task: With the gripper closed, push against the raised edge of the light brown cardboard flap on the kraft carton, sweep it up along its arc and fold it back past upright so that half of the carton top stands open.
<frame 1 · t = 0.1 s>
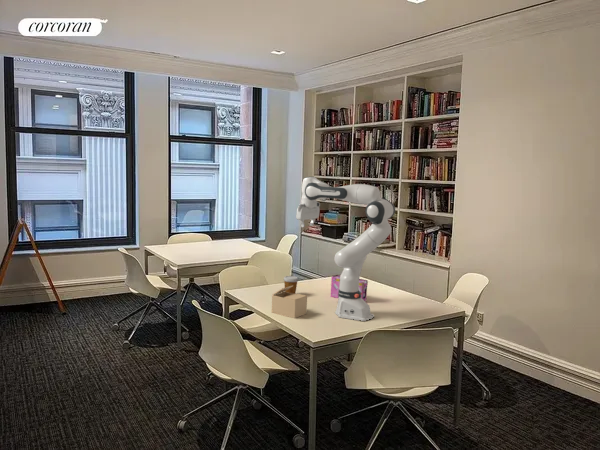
hand: (307, 226, 299), 48 cm above the table, tool pointing down, fingers open, 8 cm apart
carton flap: (282, 290, 285), point 12 cm above the table, hinge at 35.0°
kraft carton: (289, 313, 284), on the table
disposable coffee cup: (290, 295, 322), on the table
gum box: (348, 299, 321), on the table
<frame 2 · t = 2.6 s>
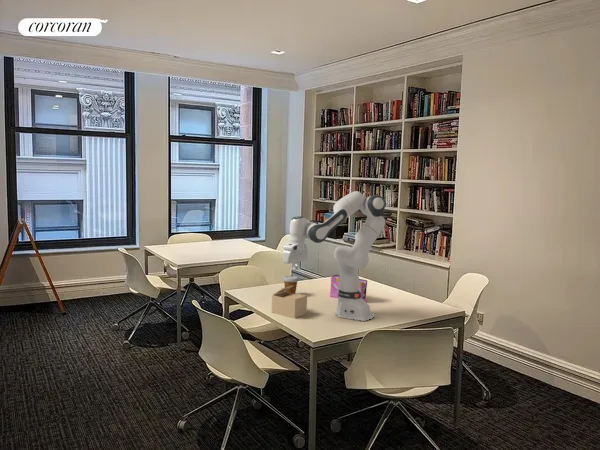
hand: (295, 269, 279), 26 cm above the table, tool pointing down, fingers closed
nothing on the table moved.
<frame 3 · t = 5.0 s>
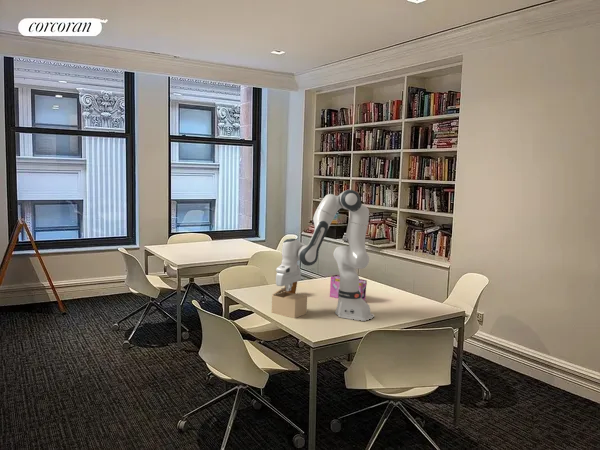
hand: (288, 291, 283), 13 cm above the table, tool pointing down, fingers closed, pressing on carton flap
carton flap: (282, 290, 285), point 13 cm above the table, hinge at 36.4°, touching gripper
everything else where it was.
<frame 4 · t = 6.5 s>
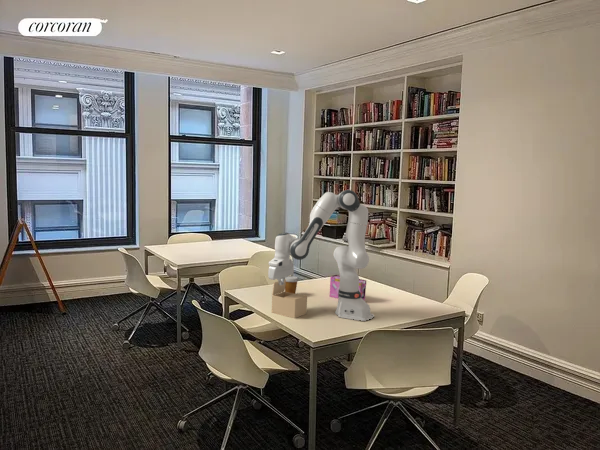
hand: (281, 284, 285), 15 cm above the table, tool pointing down, fingers closed, pressing on carton flap
carton flap: (279, 287, 286), point 14 cm above the table, hinge at 82.4°, touching gripper
everything else where it was.
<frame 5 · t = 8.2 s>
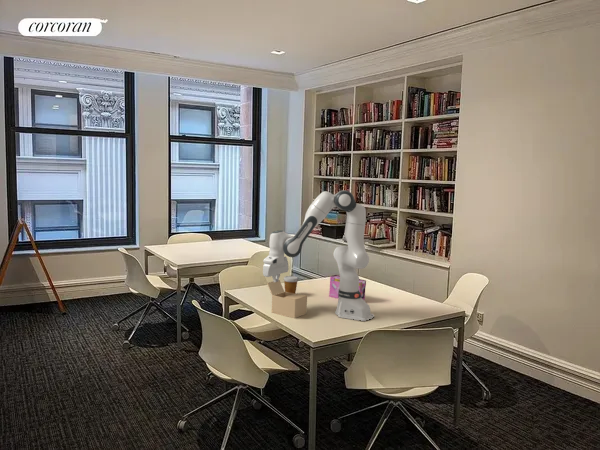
hand: (275, 281, 288), 16 cm above the table, tool pointing down, fingers closed
carton flap: (275, 287, 288), point 13 cm above the table, hinge at 121.7°
everything else where it was.
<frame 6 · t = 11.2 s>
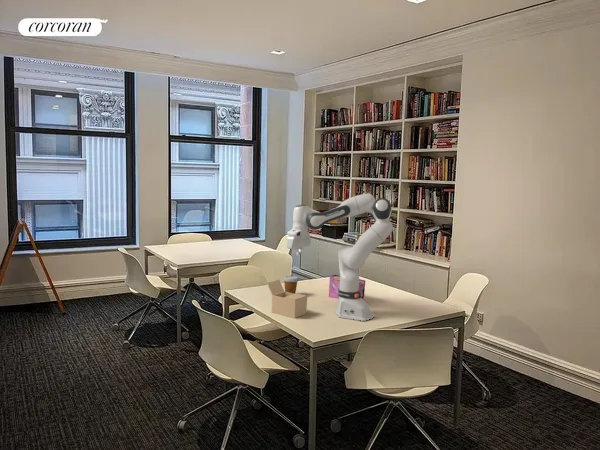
hand: (298, 254, 297), 31 cm above the table, tool pointing down, fingers closed
at the end: carton flap at +122° (first picture: +35°); disposable coffee cup moved 0.2 cm from its start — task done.
